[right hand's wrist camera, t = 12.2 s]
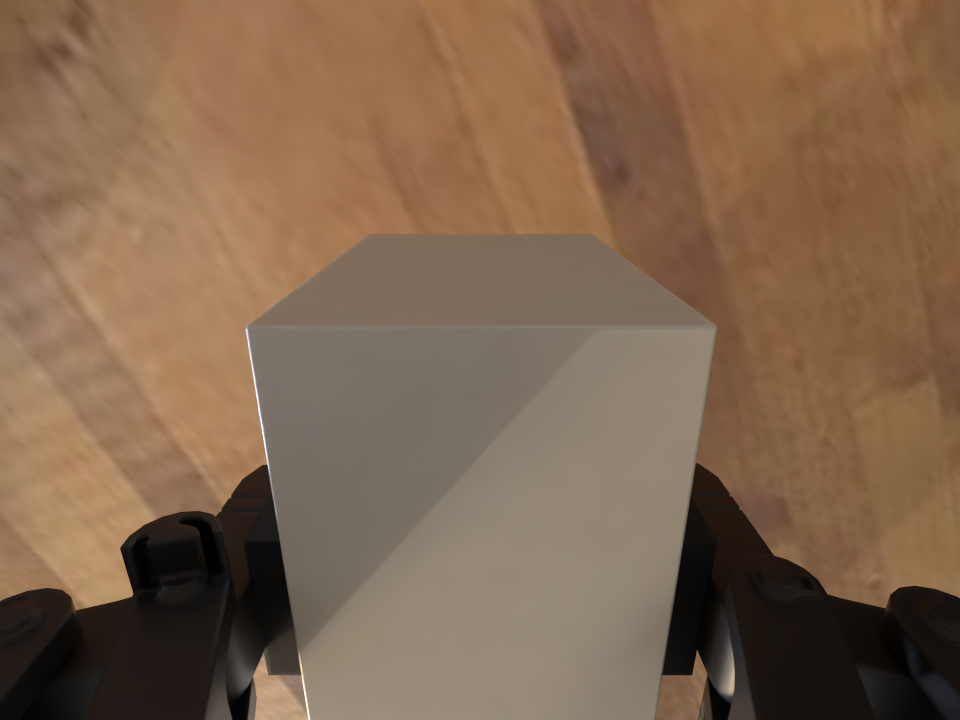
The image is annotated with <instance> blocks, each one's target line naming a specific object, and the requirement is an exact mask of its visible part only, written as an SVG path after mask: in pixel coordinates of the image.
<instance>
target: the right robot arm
mask: <svg viewBox="0 0 960 720" xmlns="http://www.w3.org/2000/svg"><path fill="white" fill-rule="evenodd" d="M120 549H121V553H122V556H123V560H124V563H125V566H126V570H127V573H128V576H129V580H130V583H131V587H132V590H133V593H134V594H133V596H132V597H130V598H126V599H123V600H120V601H116V602H111V603H107V604H103V605H98V606H94V607H89V608H85V609H81V610H75V608H74V605H73V602H72V599H71V597H70V596H69V595H68V594H66V593H65V592H64V591H63V590H58V589H50V588H44V589H38V590H31V591H26V592H23V593H20V594H17V595H15V596H12V597H9V598H6V599H4V600H2V601H0V720H254V719H255V709H256V699H257V697H256V690H255V684H254V679H253V675H254V673H255V670H256V668H257V666H258V663H259V661H260V659H261V656H262V654H263V652H264V655H265V660H266V665H267V670H268V675H301V669H300V663H299V657H298V650H297V644H296V638H295V632H294V626H293V619H292V613H291V607H290V601H289V595H288V588H287V582H286V576H285V570H284V563H283V557H282V551H281V545H280V539H279V532H278V526H277V520H276V514H275V508H274V501H273V495H272V489H271V483H270V477H269V470H268V465H262V466H261V467H259V468H258V469H256V470H255V471H253V472H252V473H251V474H249V475H248V476H246V477H245V478H243V479H242V481H241V482H240V484H239V485H238V486H237V488H236V489H235V491H234V492H233V494H232V495H231V498H229V499H228V501H227V502H226V503H225V505H224V506H223V508H222V512H219V513H218V515H217V516H216V517H215V516H214V515H213V514H209V513H205V512H201V511H191V512H180V513H176V514H172V515H168V516H164V517H161V518H159V519H157V520H155V521H152V522H150V523H148V524H146V525H144V526H142V527H141V528H140V529H138V530H137V531H136V532H134V533H133V534H131V535H130V536H129V537H128V538H127V540H126V541H125V542H124V544H123V545H122V546H121V548H120ZM697 650H698V653H699V655H700V657H701V659H702V662H703V664H704V666H705V669H706V671H707V673H708V674H707V679H706V684H705V689H704V694H703V698H702V703H701V708H700V713H699V718H698V720H960V598H958V597H956V596H953V595H951V594H948V593H945V592H942V591H939V590H936V589H932V588H925V587H919V586H909V587H902V588H898V589H897V590H896V591H895V592H893V593H892V594H891V595H890V598H889V601H888V603H887V606H886V609H885V608H881V607H877V606H872V605H868V604H863V603H859V602H855V601H850V600H846V599H842V598H838V597H835V596H832V595H828V594H827V593H826V591H825V590H824V588H823V587H822V585H821V584H820V582H819V581H818V580H817V579H816V578H815V577H814V576H812V575H811V574H810V573H809V572H808V571H806V570H805V569H804V568H802V567H800V566H798V565H796V564H794V563H792V562H791V561H789V560H787V559H783V558H780V557H776V556H774V555H773V554H772V552H771V551H770V549H769V548H768V547H767V545H766V544H765V542H764V541H763V540H762V538H761V537H760V535H759V534H758V533H757V531H756V530H755V528H754V527H753V526H752V524H751V523H750V521H749V520H748V519H747V517H746V516H745V514H744V513H743V512H742V510H739V506H738V505H737V503H736V502H735V500H734V499H733V498H732V497H730V495H729V492H728V491H727V489H726V488H725V486H724V485H723V484H722V482H721V481H720V479H719V478H718V477H717V476H715V475H714V474H713V473H711V472H710V471H708V470H707V469H705V468H704V467H703V466H701V465H700V464H698V463H696V465H695V471H694V477H693V484H692V490H691V496H690V503H689V509H688V515H687V522H686V528H685V534H684V541H683V547H682V553H681V560H680V566H679V572H678V579H677V585H676V591H675V597H674V604H673V610H672V616H671V623H670V629H669V635H668V642H667V648H666V654H665V661H664V667H663V673H662V675H692V672H693V667H694V662H695V657H696V652H697Z"/></svg>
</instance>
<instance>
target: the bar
mask: <svg viewBox="0 0 960 720" xmlns="http://www.w3.org/2000/svg"><path fill="white" fill-rule="evenodd" d="M716 332H717V326H716V325H715V324H714V323H713V322H711V321H710V320H709V319H707V318H706V317H704V316H703V315H702V314H700V313H699V312H698V311H696V310H695V309H694V308H692V307H691V306H689V305H688V304H687V303H685V302H684V301H683V300H681V299H680V298H679V297H677V296H676V295H675V294H673V293H672V292H670V291H669V290H668V289H666V288H665V287H664V286H662V285H661V284H660V283H658V282H657V281H655V280H654V279H653V278H651V277H650V276H649V275H647V274H646V273H645V272H643V271H642V270H640V269H639V268H638V267H636V266H635V265H634V264H632V263H631V262H630V261H628V260H627V259H626V258H624V257H623V256H621V255H620V254H619V253H617V252H616V251H615V250H613V249H612V248H611V247H609V246H608V245H606V244H605V243H604V242H602V241H601V240H600V239H598V238H597V237H596V236H594V235H593V234H370V235H368V236H367V237H365V238H364V239H363V240H361V241H360V242H359V243H357V244H356V245H355V246H353V247H352V248H351V249H349V250H348V251H347V252H345V253H344V254H343V255H341V256H340V257H339V258H337V259H336V260H335V261H333V262H332V263H331V264H329V265H328V266H327V267H325V268H324V269H322V270H321V271H320V272H318V273H317V274H316V275H314V276H313V277H312V278H310V279H309V280H308V281H306V282H305V283H304V284H302V285H301V286H300V287H298V288H297V289H296V290H294V291H293V292H292V293H290V294H289V295H288V296H286V297H285V298H284V299H282V300H281V301H280V302H278V303H277V304H276V305H274V306H273V307H272V308H270V309H269V310H267V311H266V312H265V313H263V314H262V315H261V316H259V317H258V318H257V319H255V320H254V321H253V322H251V323H250V324H249V325H247V327H246V334H247V340H248V346H249V352H250V359H251V365H252V371H253V377H254V383H255V390H256V396H257V402H258V408H259V414H260V421H261V427H262V433H263V439H264V446H265V452H266V458H267V464H268V470H269V477H270V483H271V489H272V495H273V501H274V508H275V514H276V520H277V526H278V532H279V539H280V545H281V551H282V557H283V563H284V570H285V576H286V582H287V588H288V595H289V601H290V607H291V613H292V619H293V626H294V632H295V638H296V644H297V650H298V657H299V663H300V669H301V675H302V681H303V688H304V694H305V700H306V706H307V713H308V719H309V720H655V718H656V711H657V705H658V699H659V692H660V686H661V680H662V673H663V667H664V661H665V654H666V648H667V642H668V635H669V629H670V623H671V616H672V610H673V604H674V597H675V591H676V585H677V579H678V572H679V566H680V560H681V553H682V547H683V541H684V534H685V528H686V522H687V515H688V509H689V503H690V496H691V490H692V484H693V477H694V471H695V465H696V458H697V452H698V446H699V439H700V433H701V427H702V420H703V414H704V408H705V401H706V395H707V389H708V382H709V376H710V370H711V363H712V357H713V351H714V344H715V338H716Z"/></svg>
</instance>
